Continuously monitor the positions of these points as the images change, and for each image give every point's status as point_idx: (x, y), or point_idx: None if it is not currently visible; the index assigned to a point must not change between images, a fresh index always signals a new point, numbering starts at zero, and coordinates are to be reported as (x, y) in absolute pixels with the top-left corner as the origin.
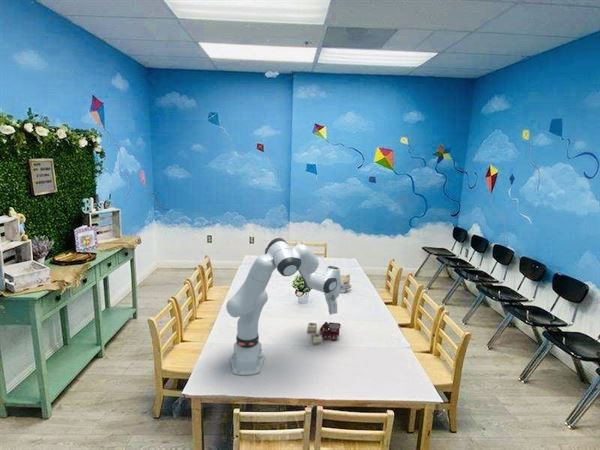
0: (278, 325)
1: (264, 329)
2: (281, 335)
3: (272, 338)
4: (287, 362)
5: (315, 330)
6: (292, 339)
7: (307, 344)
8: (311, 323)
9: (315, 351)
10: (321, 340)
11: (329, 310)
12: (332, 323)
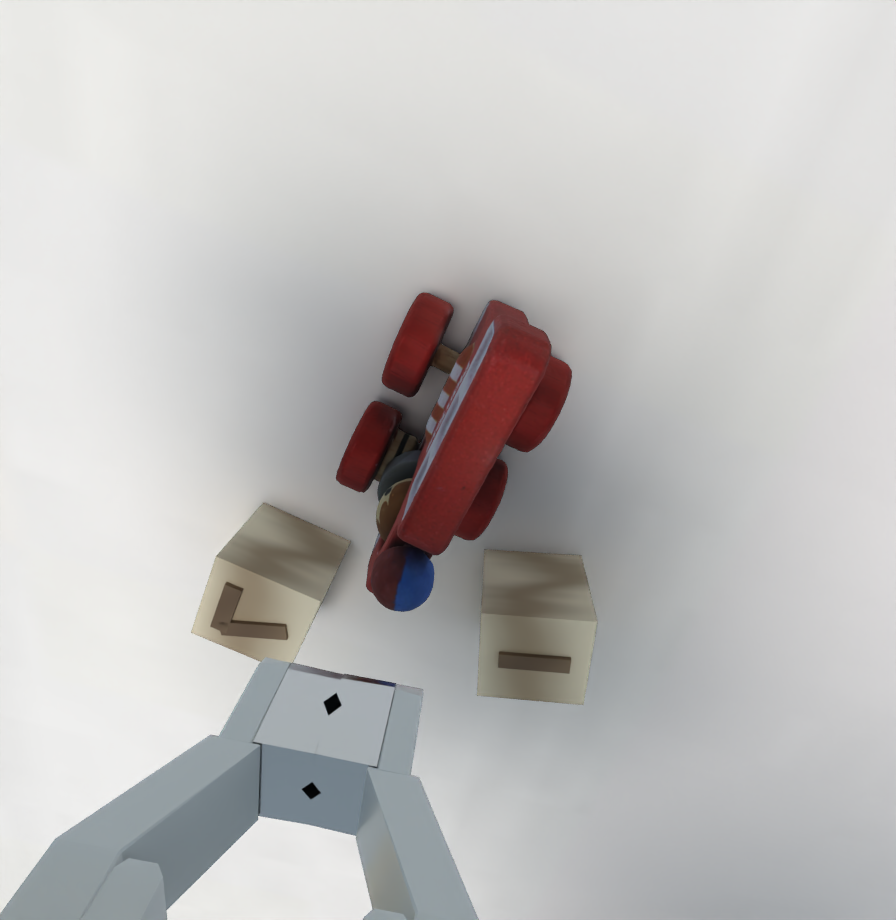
0: (160, 762)
1: None
2: None
3: None
4: (730, 855)
5: (335, 572)
6: None
7: None
8: (223, 619)
9: (676, 646)
10: (589, 595)
11: (283, 808)
12: (463, 504)
